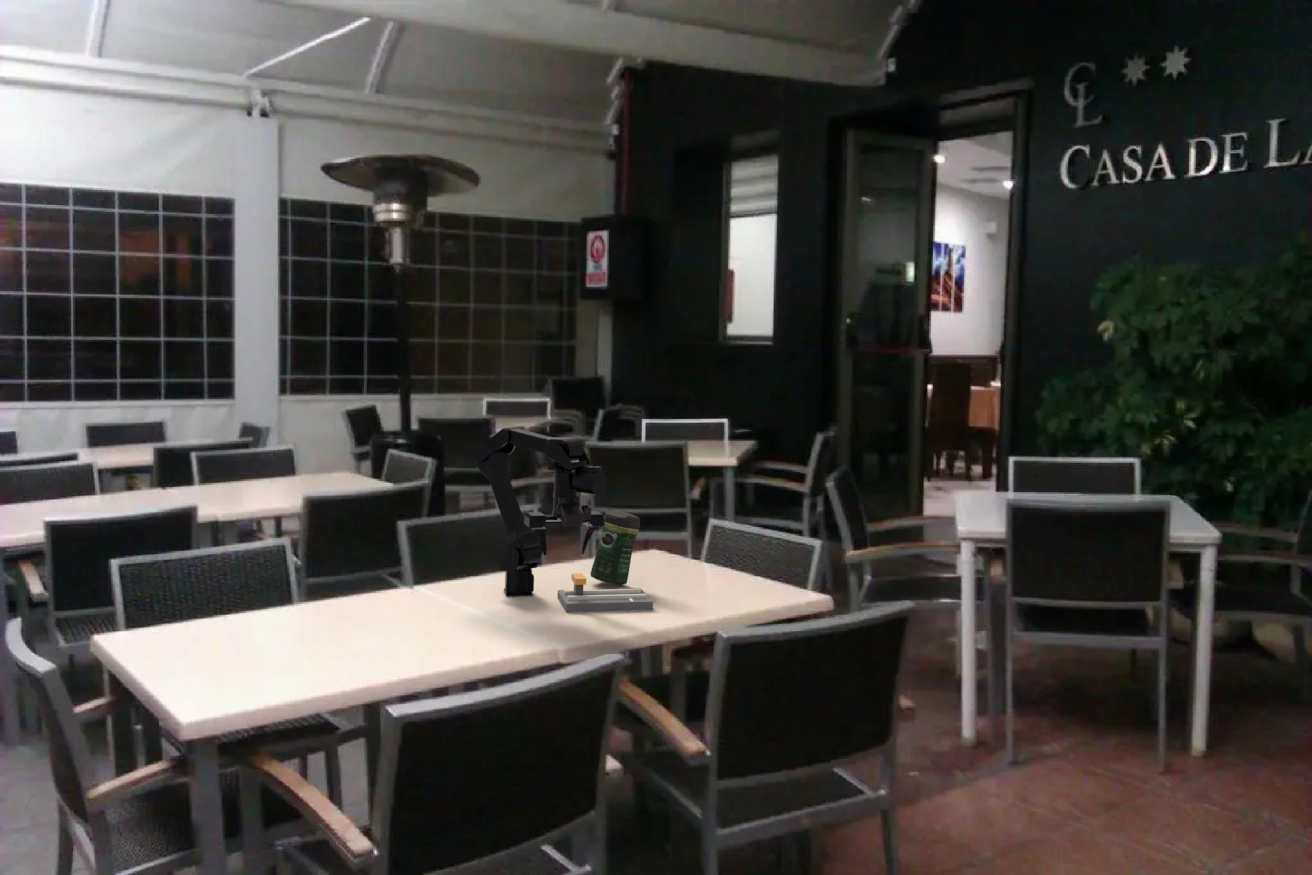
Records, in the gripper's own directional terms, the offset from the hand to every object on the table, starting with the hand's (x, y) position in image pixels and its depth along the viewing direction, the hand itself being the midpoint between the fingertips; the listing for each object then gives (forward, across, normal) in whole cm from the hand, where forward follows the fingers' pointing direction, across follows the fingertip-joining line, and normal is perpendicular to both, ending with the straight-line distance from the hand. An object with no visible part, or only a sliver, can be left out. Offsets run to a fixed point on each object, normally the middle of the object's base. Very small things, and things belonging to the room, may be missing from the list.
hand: (563, 554), depth 269 cm
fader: (+10, +4, -1) cm, 11 cm away
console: (+12, +10, -2) cm, 16 cm away
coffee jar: (+11, +17, +16) cm, 26 cm away
